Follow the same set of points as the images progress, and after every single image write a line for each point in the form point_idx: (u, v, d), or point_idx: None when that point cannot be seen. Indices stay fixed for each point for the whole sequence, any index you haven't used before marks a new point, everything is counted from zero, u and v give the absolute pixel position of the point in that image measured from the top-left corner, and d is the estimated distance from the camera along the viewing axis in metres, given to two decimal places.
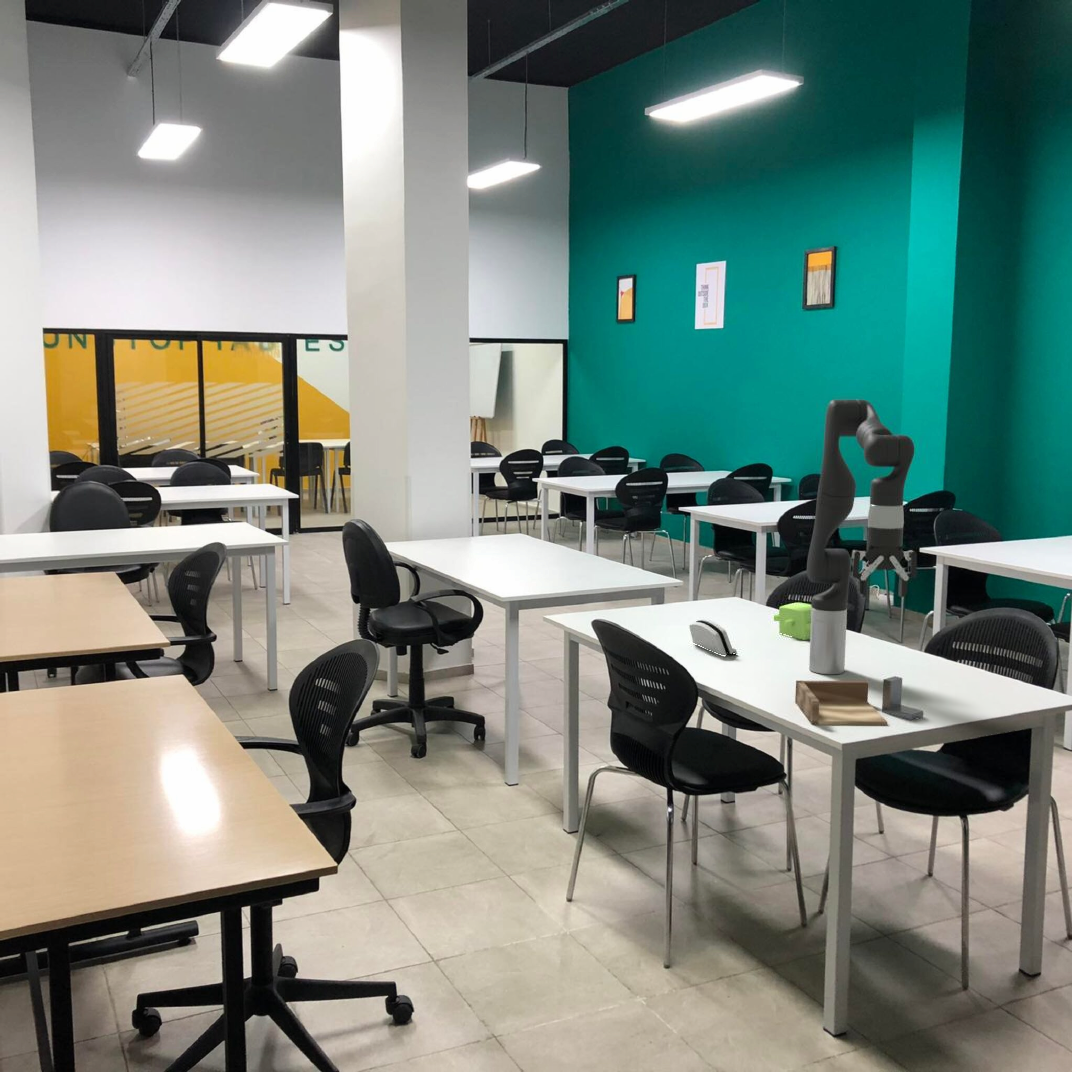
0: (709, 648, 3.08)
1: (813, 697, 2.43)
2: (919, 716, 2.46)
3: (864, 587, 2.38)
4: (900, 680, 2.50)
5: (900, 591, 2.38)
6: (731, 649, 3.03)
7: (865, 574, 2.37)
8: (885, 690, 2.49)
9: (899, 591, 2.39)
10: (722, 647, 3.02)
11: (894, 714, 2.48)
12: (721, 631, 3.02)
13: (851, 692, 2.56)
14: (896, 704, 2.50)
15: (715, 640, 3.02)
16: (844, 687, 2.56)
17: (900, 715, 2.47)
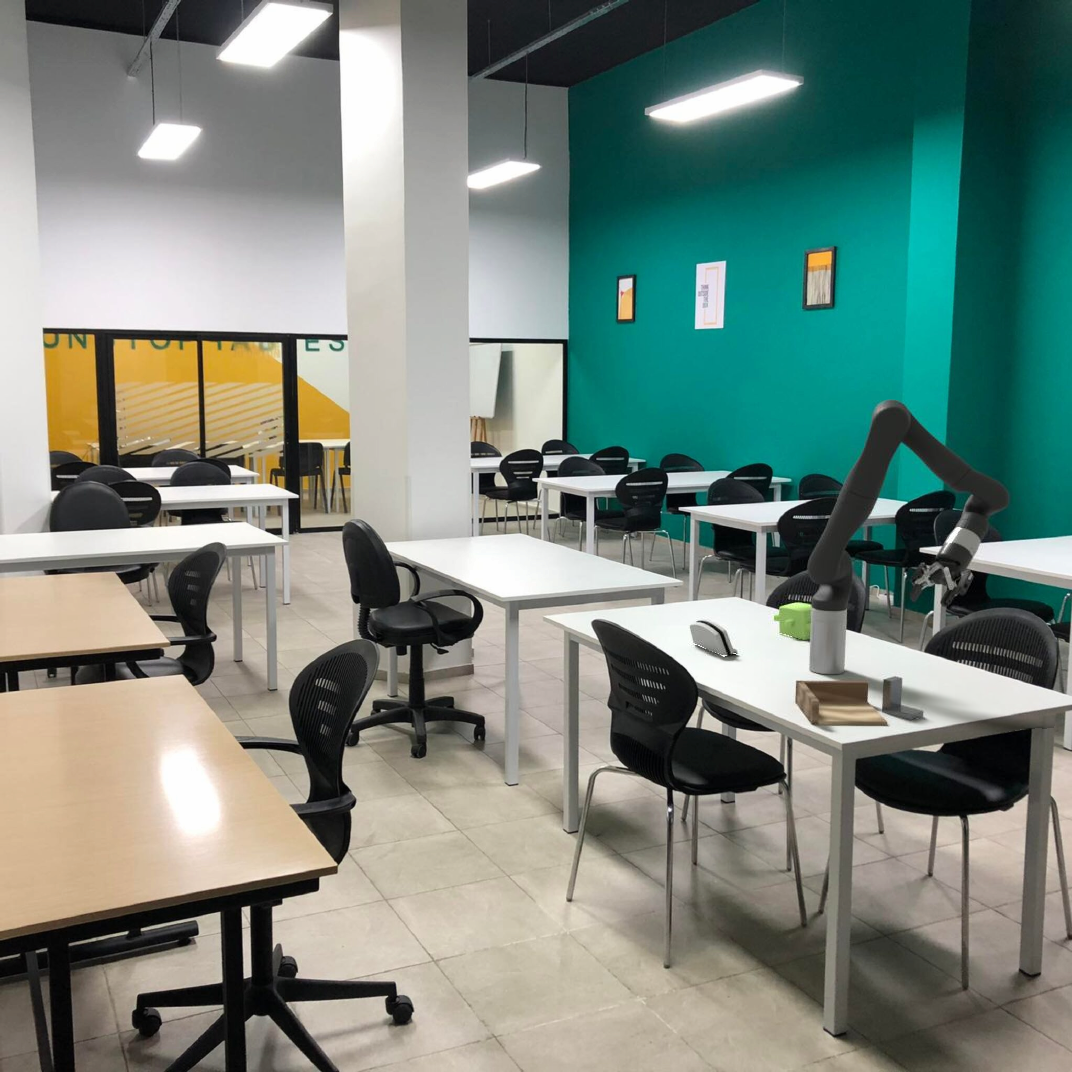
0: (710, 648, 3.08)
1: (813, 697, 2.43)
2: (919, 716, 2.46)
3: None
4: (900, 680, 2.50)
5: (916, 596, 2.60)
6: (732, 649, 3.03)
7: None
8: (885, 690, 2.49)
9: (914, 595, 2.59)
10: (723, 647, 3.02)
11: (894, 714, 2.48)
12: (722, 631, 3.02)
13: (851, 692, 2.56)
14: (896, 704, 2.50)
15: (716, 640, 3.02)
16: (844, 687, 2.56)
17: (900, 715, 2.47)
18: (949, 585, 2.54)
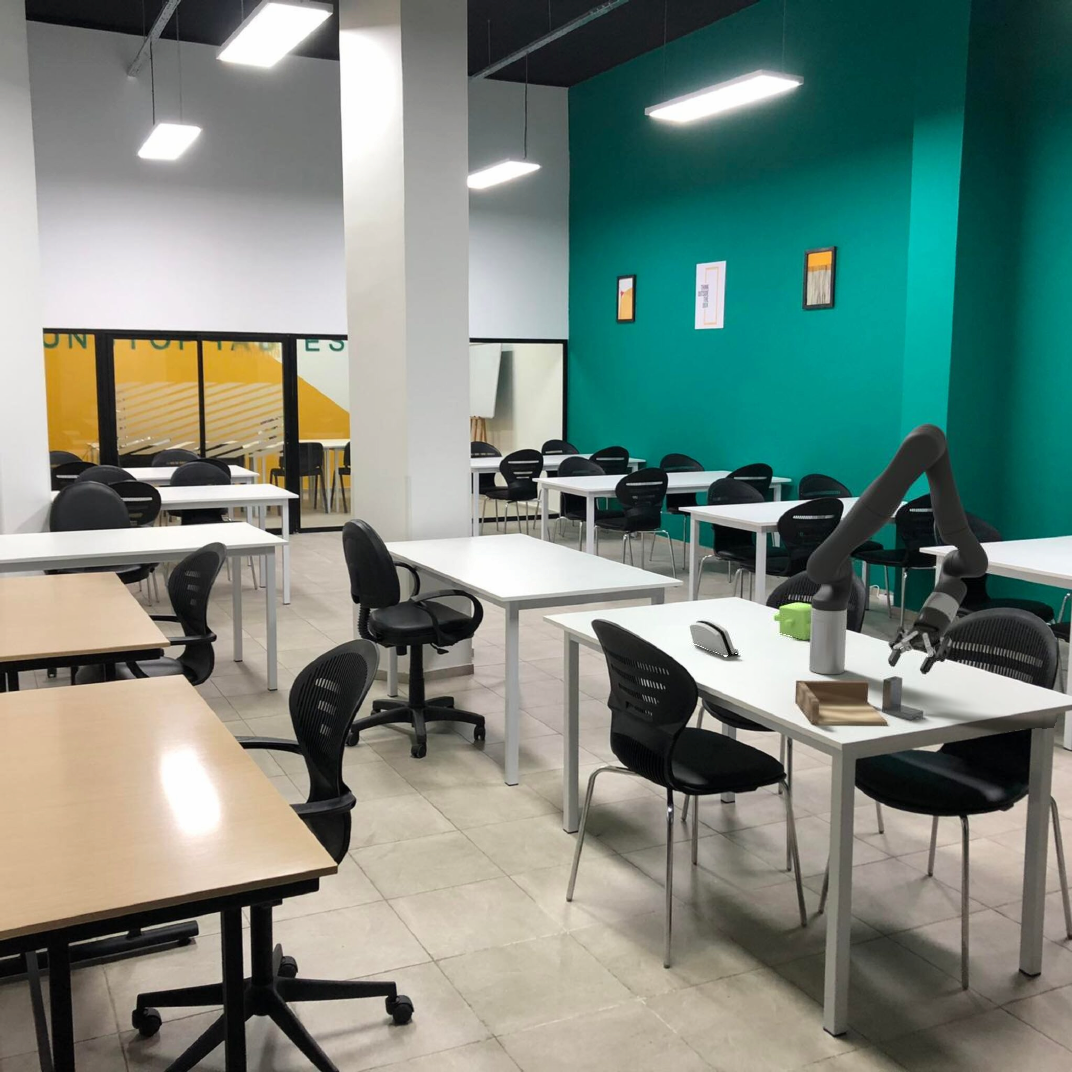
0: (710, 648, 3.07)
1: (813, 697, 2.43)
2: (919, 716, 2.46)
3: None
4: (900, 680, 2.50)
5: (895, 662, 2.57)
6: (733, 649, 3.03)
7: None
8: (885, 690, 2.49)
9: (893, 660, 2.56)
10: (724, 647, 3.02)
11: (894, 714, 2.48)
12: (723, 632, 3.02)
13: (851, 692, 2.56)
14: (896, 704, 2.50)
15: (717, 640, 3.02)
16: (844, 687, 2.56)
17: (900, 715, 2.47)
18: (928, 652, 2.51)
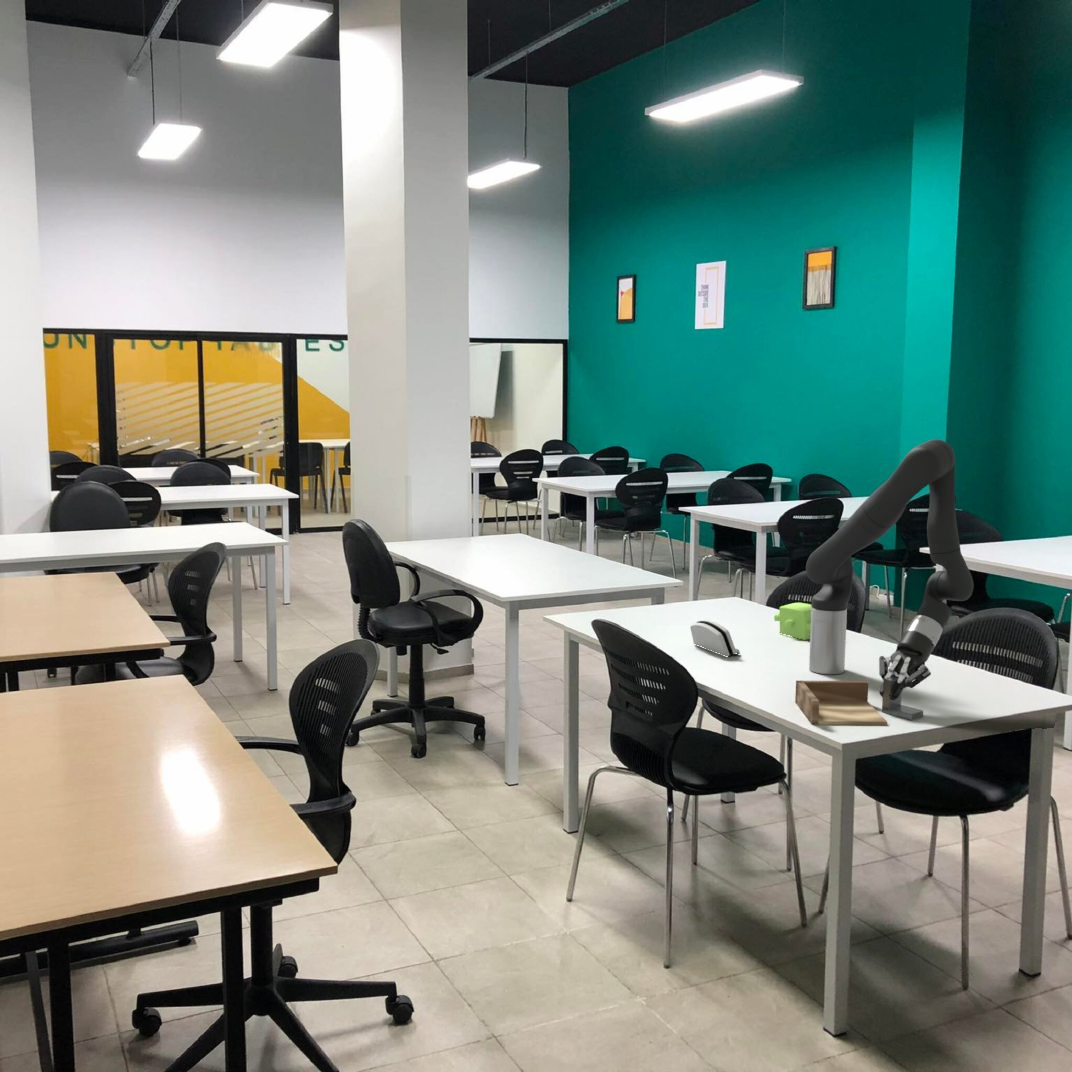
0: (711, 648, 3.07)
1: (813, 697, 2.43)
2: (919, 716, 2.46)
3: None
4: None
5: None
6: (734, 649, 3.03)
7: None
8: (885, 690, 2.49)
9: None
10: (725, 647, 3.01)
11: (894, 714, 2.48)
12: (724, 632, 3.02)
13: (851, 692, 2.56)
14: (896, 704, 2.51)
15: (718, 640, 3.02)
16: (844, 687, 2.56)
17: (900, 715, 2.47)
18: (900, 677, 2.49)
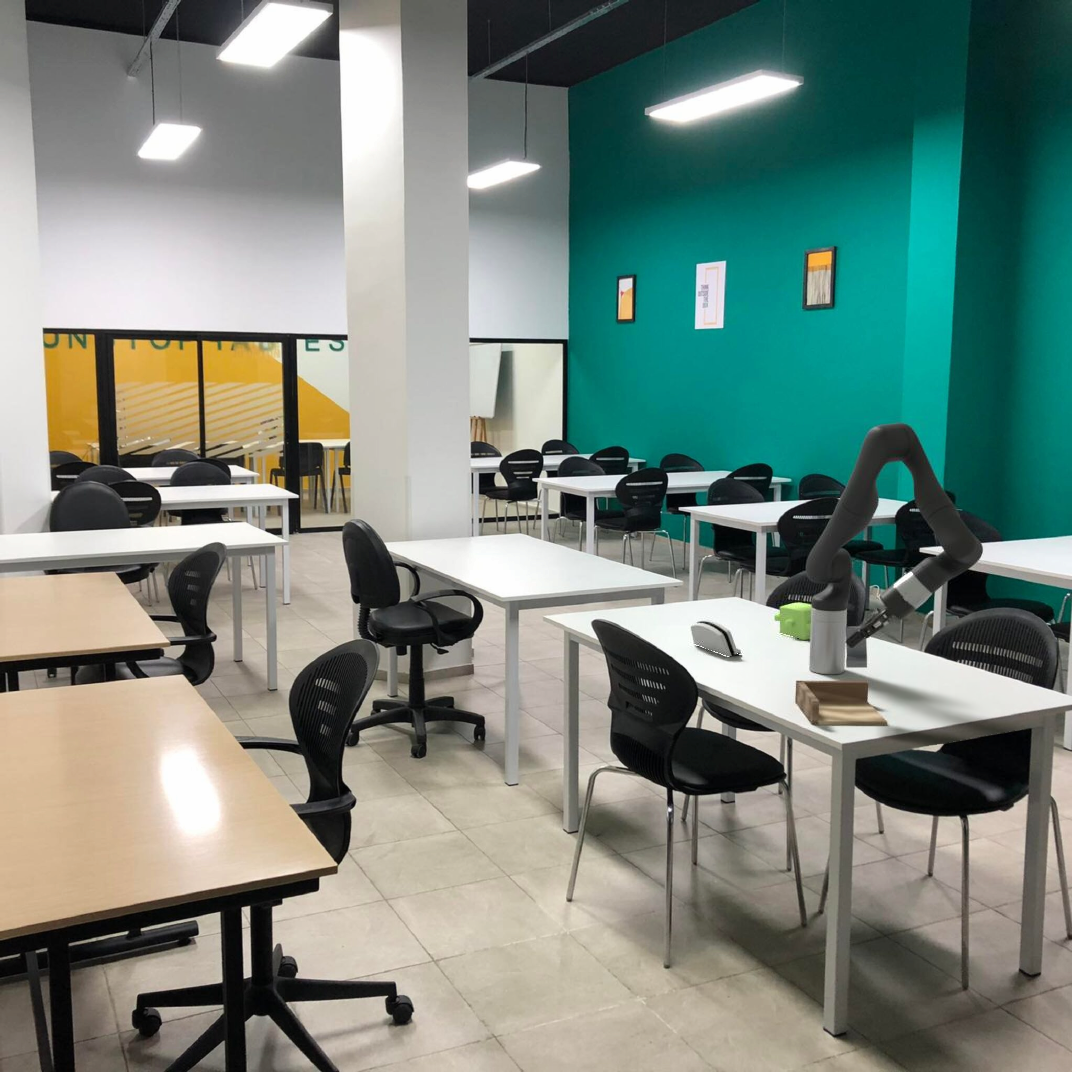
0: (712, 648, 3.07)
1: (813, 697, 2.43)
2: (859, 665, 2.42)
3: (858, 642, 2.47)
4: None
5: None
6: (735, 649, 3.03)
7: None
8: None
9: None
10: (727, 648, 3.01)
11: None
12: (726, 632, 3.02)
13: (851, 692, 2.56)
14: (858, 653, 2.48)
15: (720, 641, 3.02)
16: (844, 687, 2.56)
17: None
18: None
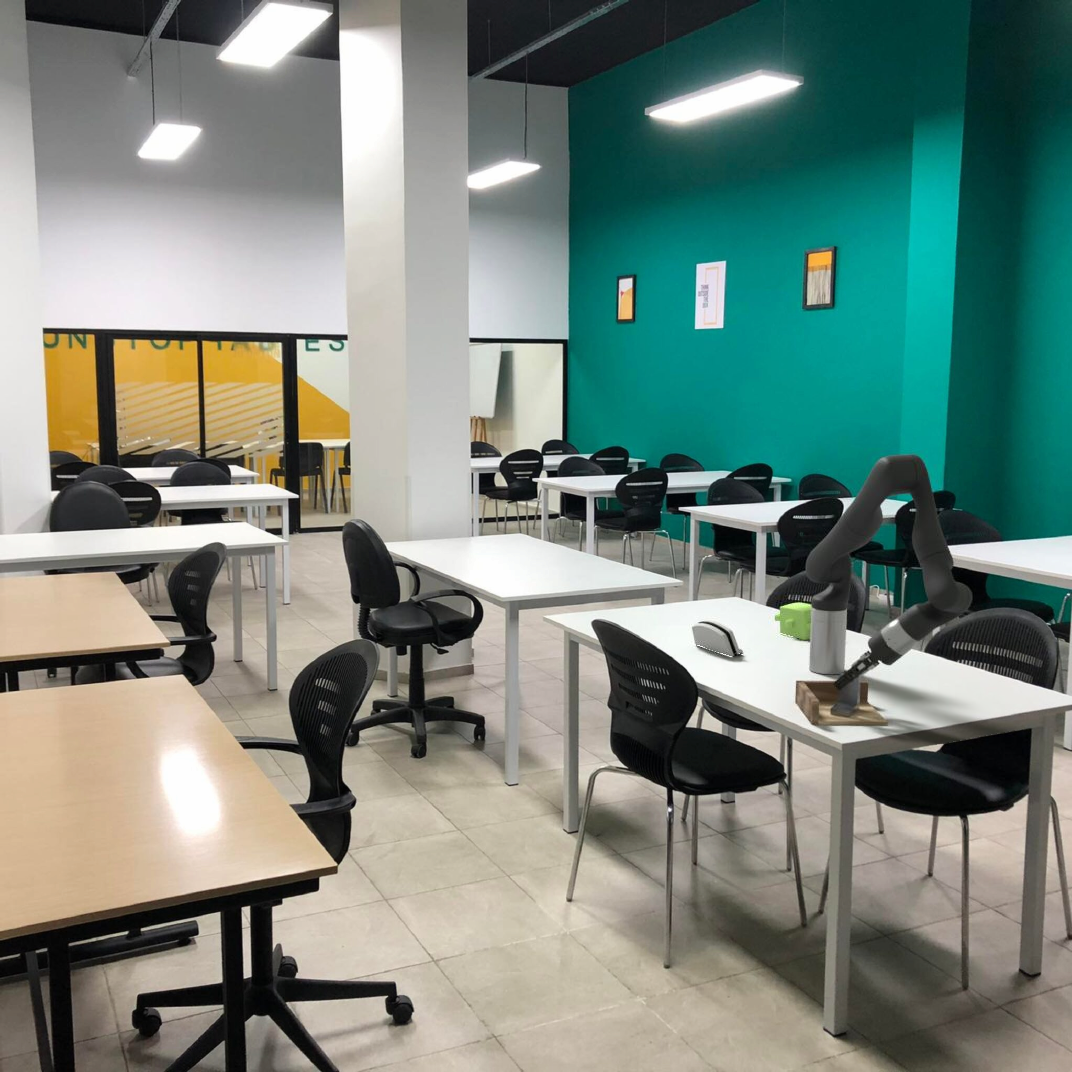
0: (714, 649, 3.07)
1: (813, 697, 2.43)
2: (843, 714, 2.45)
3: None
4: (855, 679, 2.48)
5: None
6: (738, 649, 3.03)
7: (855, 677, 2.46)
8: None
9: None
10: (729, 648, 3.01)
11: None
12: (728, 632, 3.02)
13: None
14: (849, 701, 2.50)
15: (722, 641, 3.01)
16: None
17: None
18: None
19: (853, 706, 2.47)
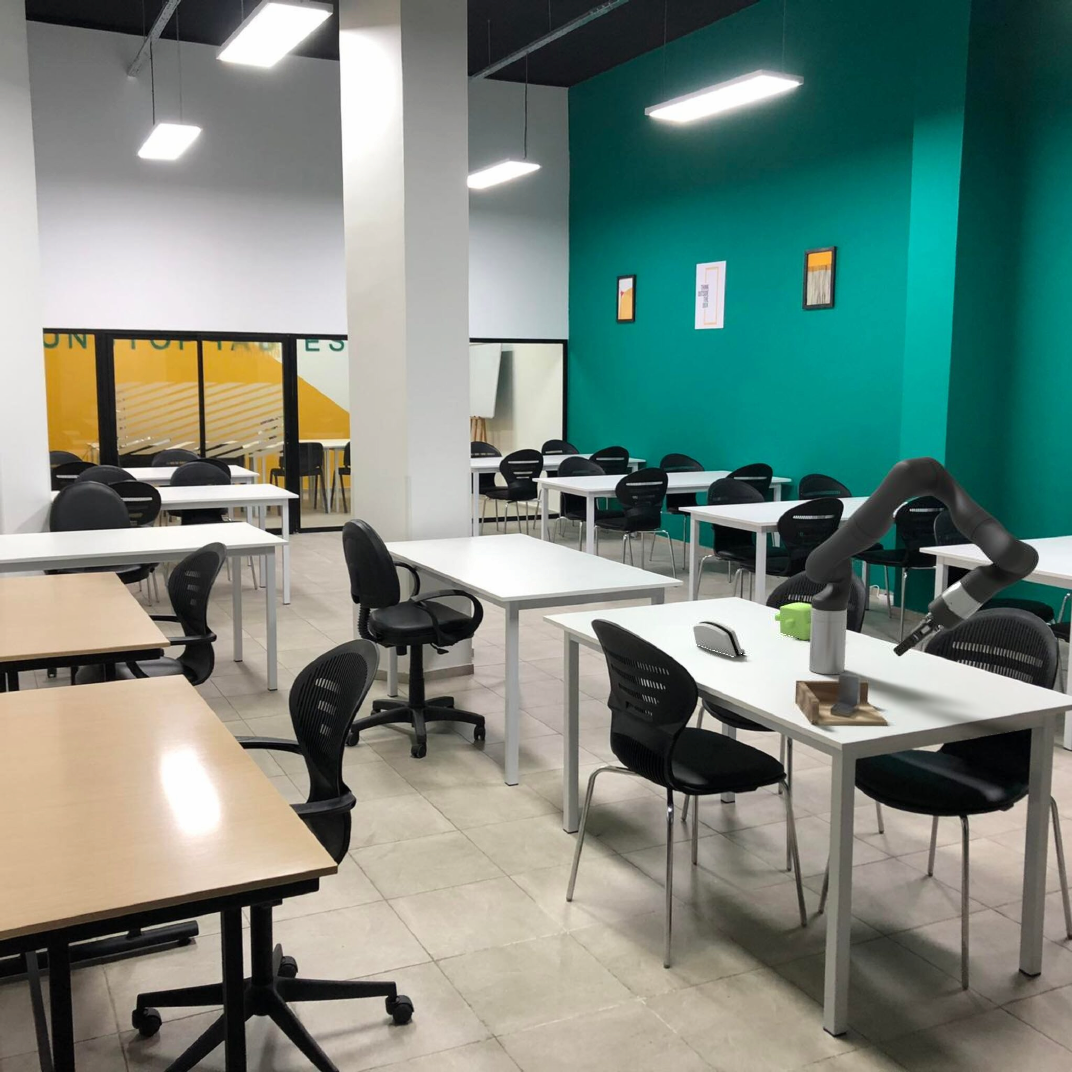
0: (716, 649, 3.07)
1: (813, 697, 2.43)
2: (843, 714, 2.45)
3: (906, 651, 2.38)
4: (855, 679, 2.48)
5: None
6: (740, 649, 3.03)
7: None
8: None
9: None
10: (732, 648, 3.01)
11: None
12: (730, 632, 3.02)
13: None
14: (849, 701, 2.50)
15: (725, 641, 3.01)
16: None
17: None
18: None
19: (853, 706, 2.47)
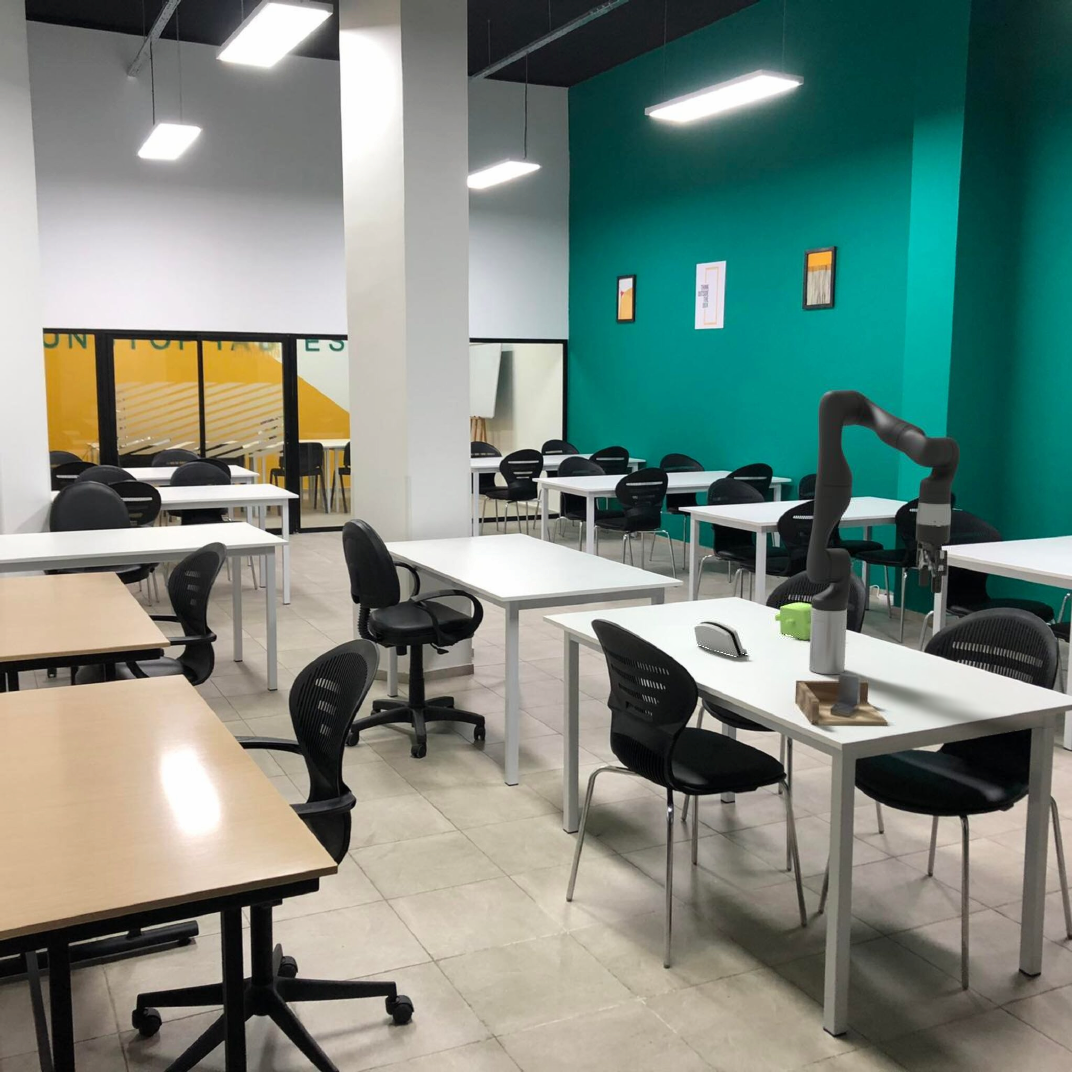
0: (718, 649, 3.07)
1: (813, 697, 2.43)
2: (843, 714, 2.45)
3: None
4: (855, 679, 2.48)
5: (926, 581, 2.57)
6: (742, 649, 3.03)
7: None
8: None
9: (923, 581, 2.58)
10: (734, 648, 3.01)
11: None
12: (732, 632, 3.02)
13: None
14: (849, 701, 2.50)
15: (727, 641, 3.01)
16: None
17: None
18: (931, 571, 2.49)
19: (853, 706, 2.47)
